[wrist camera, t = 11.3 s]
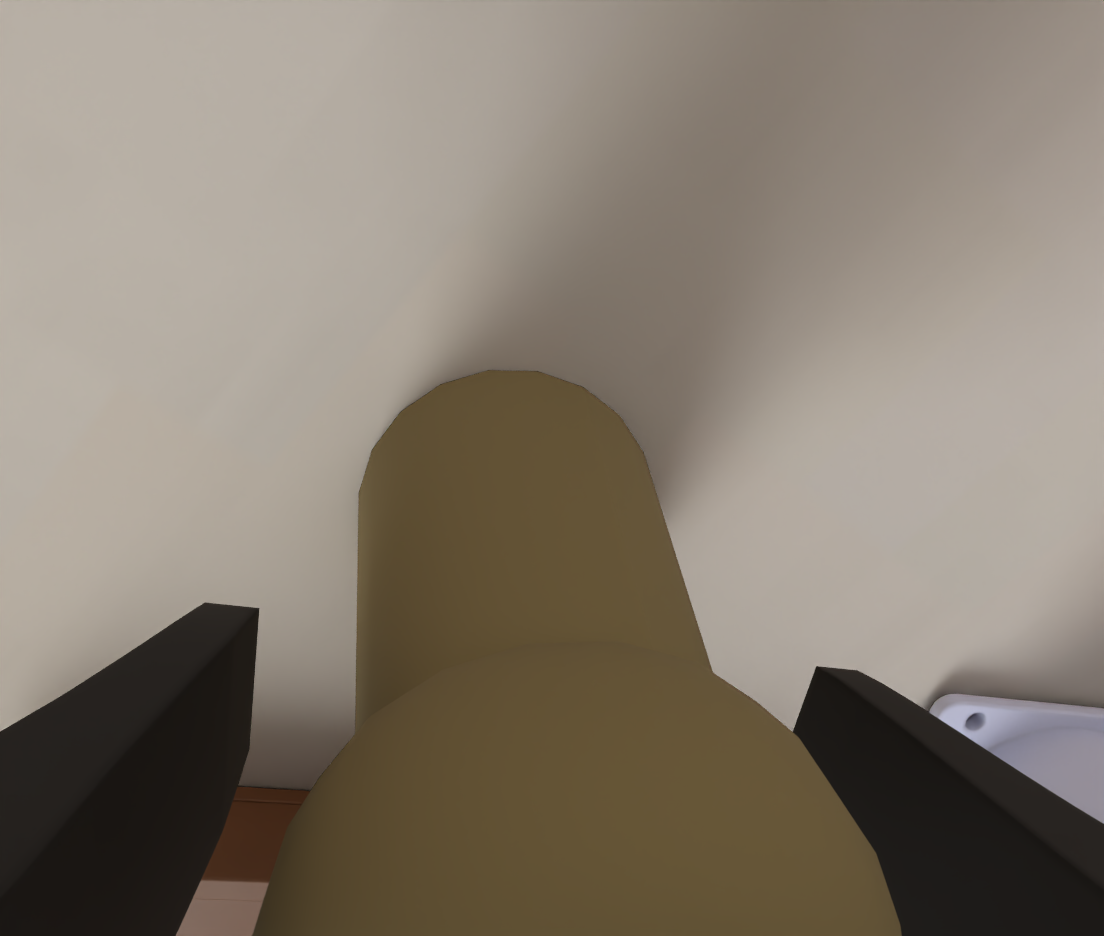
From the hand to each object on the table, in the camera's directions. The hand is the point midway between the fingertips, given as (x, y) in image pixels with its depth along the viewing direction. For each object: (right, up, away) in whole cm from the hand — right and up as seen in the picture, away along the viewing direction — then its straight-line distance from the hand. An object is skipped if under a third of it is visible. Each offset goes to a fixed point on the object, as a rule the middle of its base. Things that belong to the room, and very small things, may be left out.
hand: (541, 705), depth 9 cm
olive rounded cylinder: (-1, +2, +6) cm, 6 cm away
